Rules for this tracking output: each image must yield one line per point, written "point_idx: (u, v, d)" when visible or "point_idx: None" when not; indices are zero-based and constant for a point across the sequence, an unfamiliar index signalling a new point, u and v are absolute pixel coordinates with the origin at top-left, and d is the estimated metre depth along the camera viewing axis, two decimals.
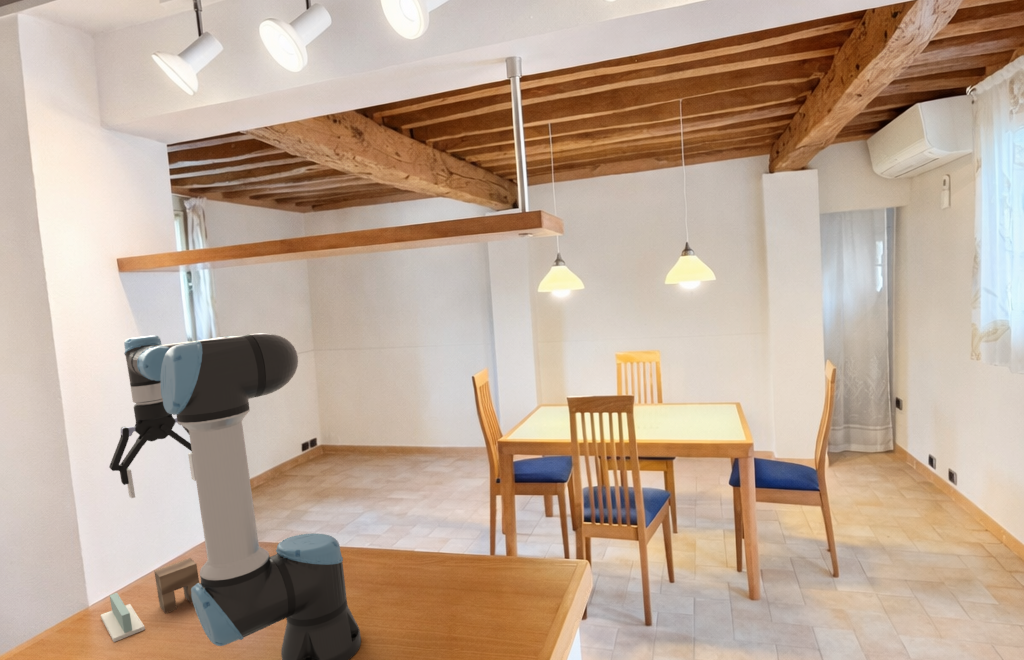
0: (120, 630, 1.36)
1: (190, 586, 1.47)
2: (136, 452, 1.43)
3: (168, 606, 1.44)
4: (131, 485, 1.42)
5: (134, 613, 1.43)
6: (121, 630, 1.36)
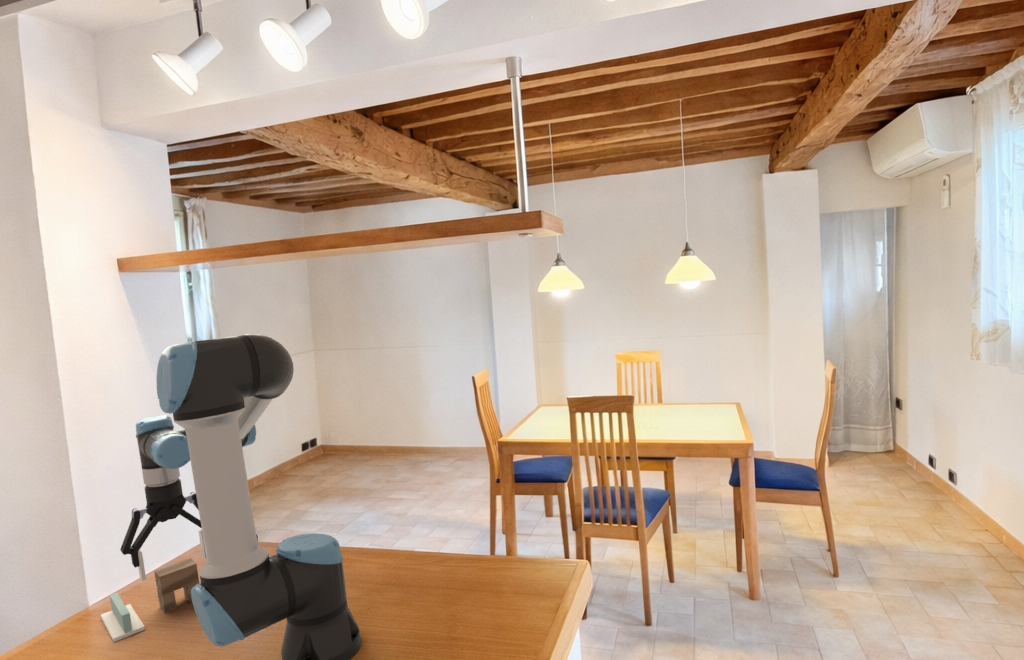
0: (120, 630, 1.36)
1: (190, 586, 1.47)
2: (147, 534, 1.42)
3: (168, 606, 1.44)
4: (142, 568, 1.42)
5: (134, 613, 1.43)
6: (121, 630, 1.36)
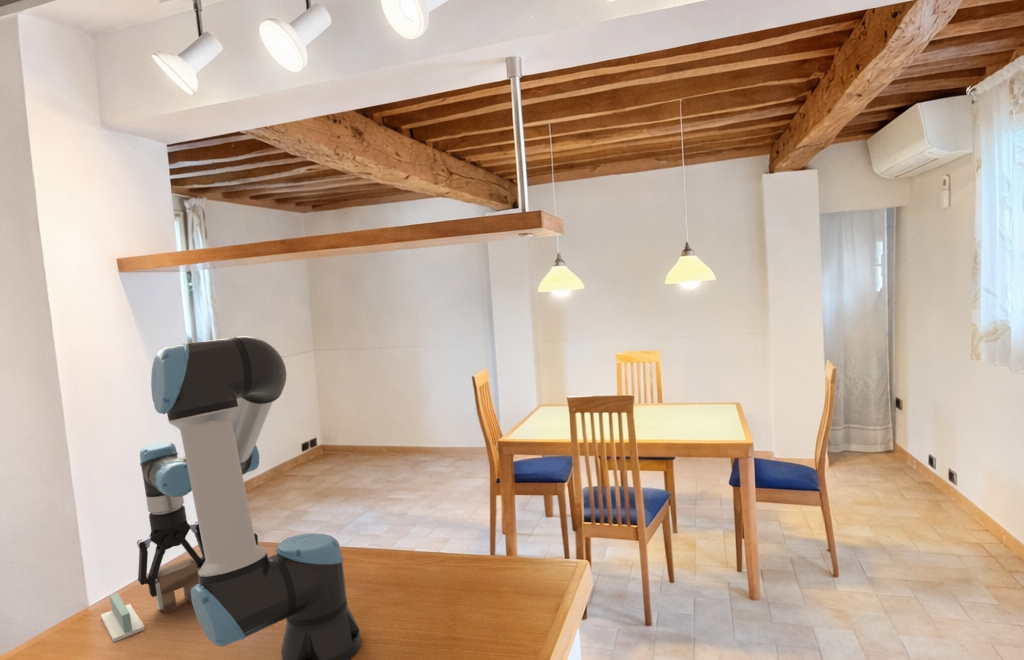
0: (120, 630, 1.36)
1: (190, 586, 1.47)
2: (159, 563, 1.44)
3: (168, 606, 1.44)
4: (159, 597, 1.44)
5: (134, 613, 1.43)
6: (121, 630, 1.36)
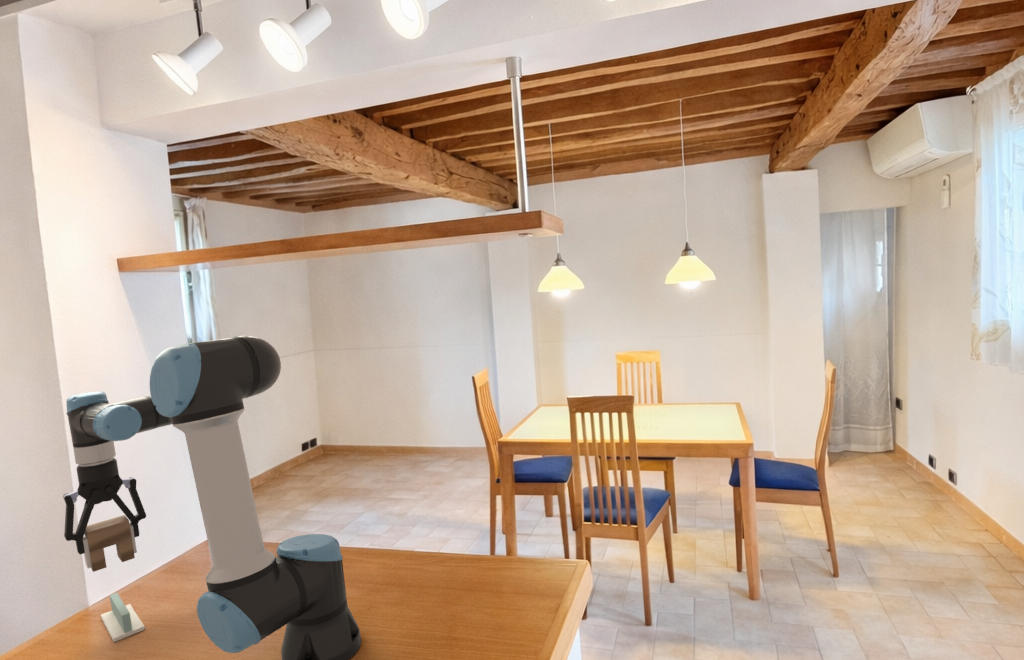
0: (120, 630, 1.36)
1: (122, 544, 1.39)
2: (87, 518, 1.35)
3: (97, 564, 1.36)
4: (87, 555, 1.35)
5: (134, 613, 1.43)
6: (121, 630, 1.36)
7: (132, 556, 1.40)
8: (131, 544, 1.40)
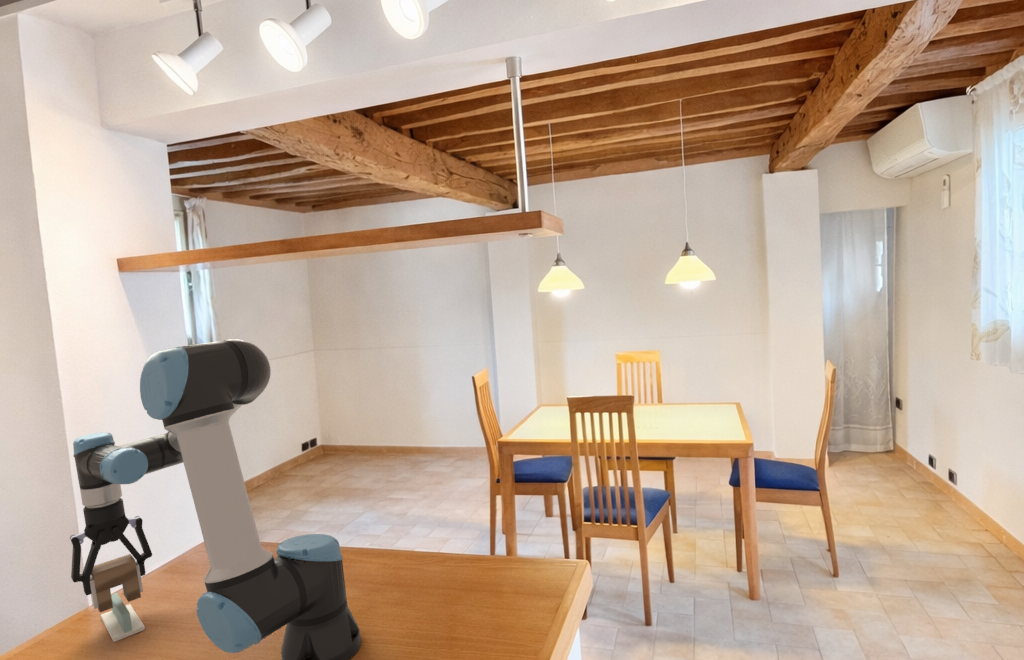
0: (120, 630, 1.36)
1: (128, 584, 1.40)
2: (94, 559, 1.36)
3: (103, 605, 1.36)
4: (94, 595, 1.36)
5: (134, 613, 1.43)
6: (121, 630, 1.36)
7: (138, 595, 1.41)
8: (137, 583, 1.41)
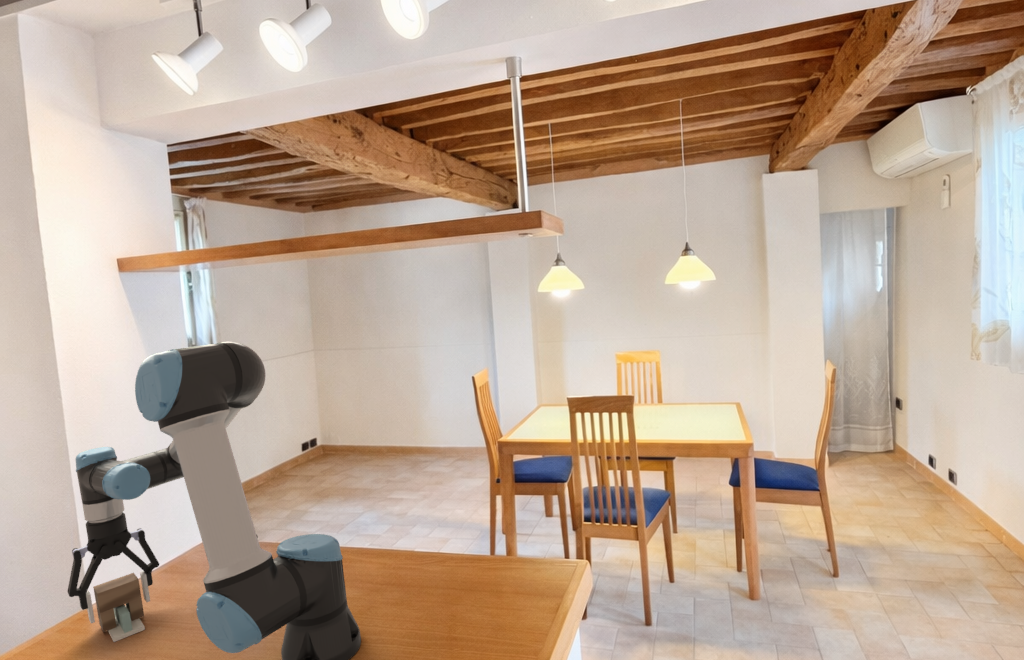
0: (120, 630, 1.36)
1: (131, 603, 1.40)
2: (93, 574, 1.36)
3: (107, 625, 1.37)
4: (90, 610, 1.36)
5: None
6: (121, 630, 1.36)
7: (142, 614, 1.41)
8: (141, 603, 1.41)
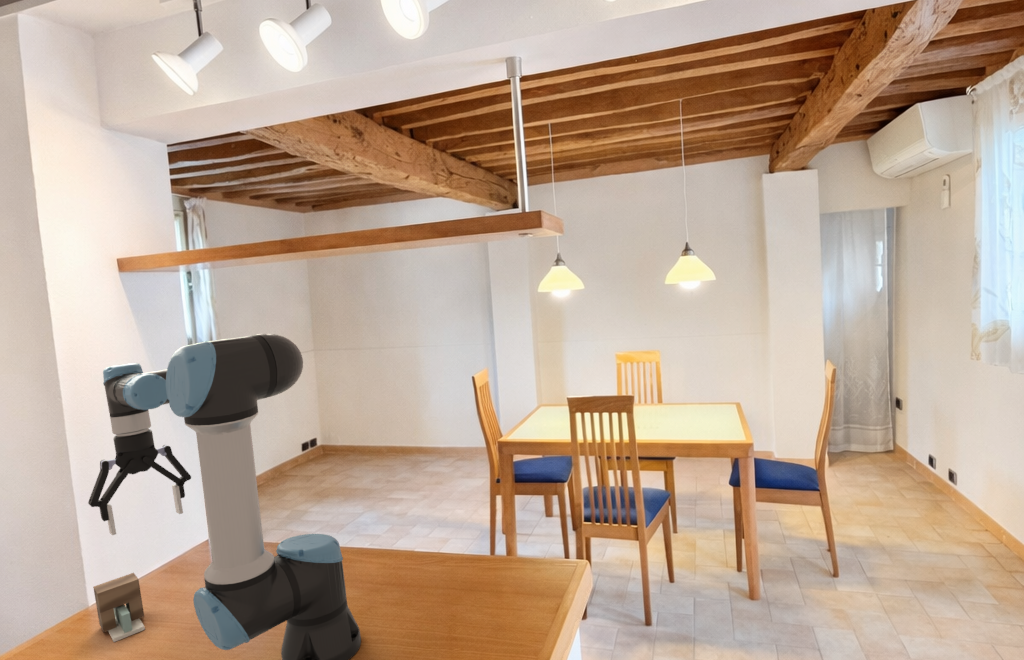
0: (120, 630, 1.36)
1: (131, 603, 1.40)
2: (117, 486, 1.36)
3: (107, 625, 1.37)
4: (112, 521, 1.35)
5: None
6: (121, 630, 1.36)
7: (142, 614, 1.41)
8: (141, 603, 1.41)
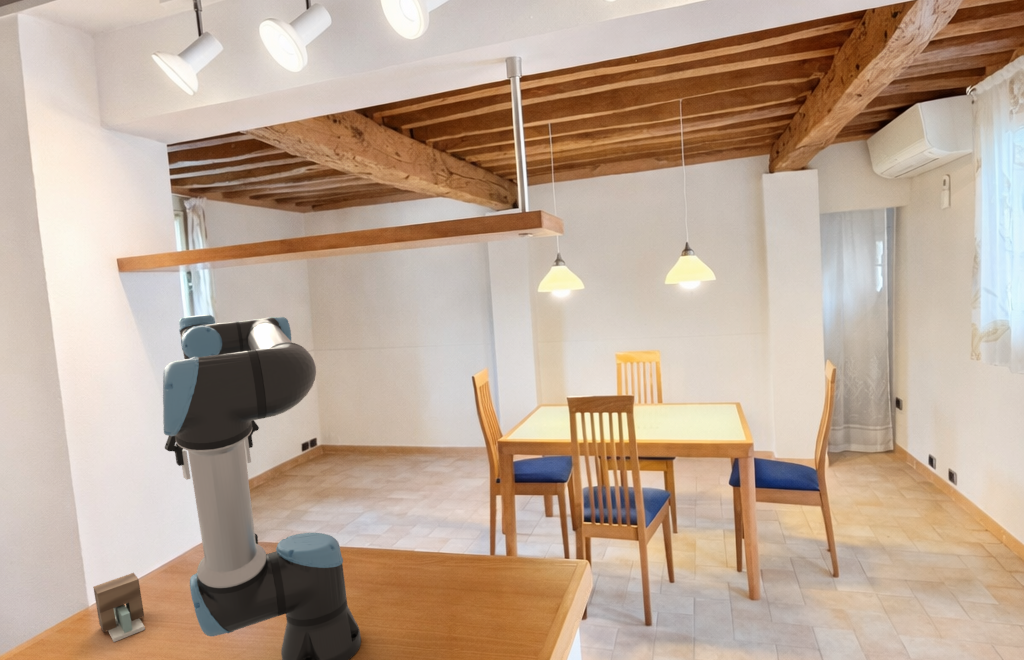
0: (120, 630, 1.36)
1: (131, 603, 1.40)
2: None
3: (107, 625, 1.37)
4: (186, 466, 1.39)
5: None
6: (121, 630, 1.36)
7: (142, 614, 1.41)
8: (141, 603, 1.41)
